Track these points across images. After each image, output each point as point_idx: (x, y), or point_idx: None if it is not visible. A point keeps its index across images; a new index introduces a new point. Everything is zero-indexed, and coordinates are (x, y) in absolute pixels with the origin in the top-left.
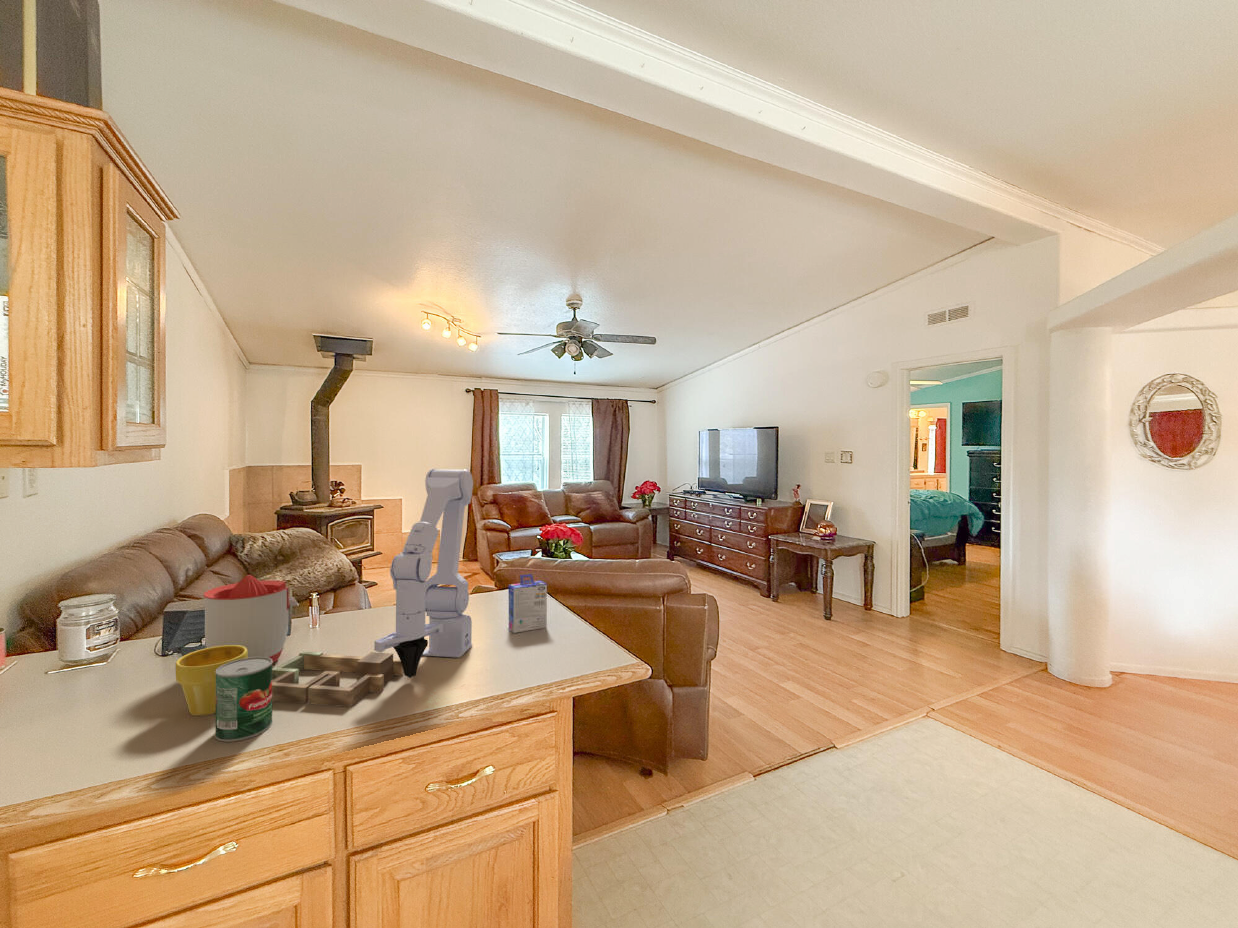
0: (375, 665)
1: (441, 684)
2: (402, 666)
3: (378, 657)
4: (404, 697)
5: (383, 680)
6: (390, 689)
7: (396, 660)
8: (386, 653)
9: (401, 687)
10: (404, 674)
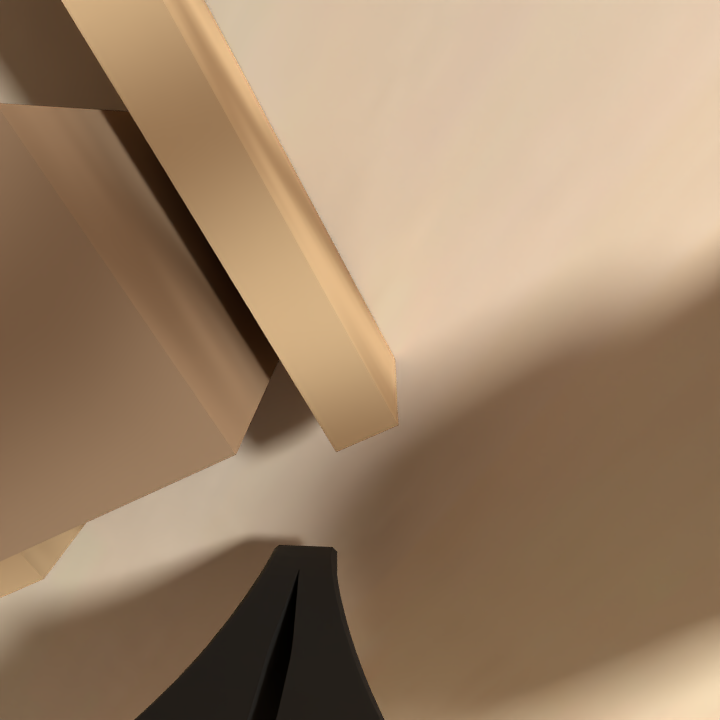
0: None
1: (427, 711)
2: (245, 596)
3: (14, 414)
4: (161, 674)
5: (68, 542)
6: (149, 525)
7: (318, 379)
8: (167, 372)
9: (222, 557)
10: (273, 552)
